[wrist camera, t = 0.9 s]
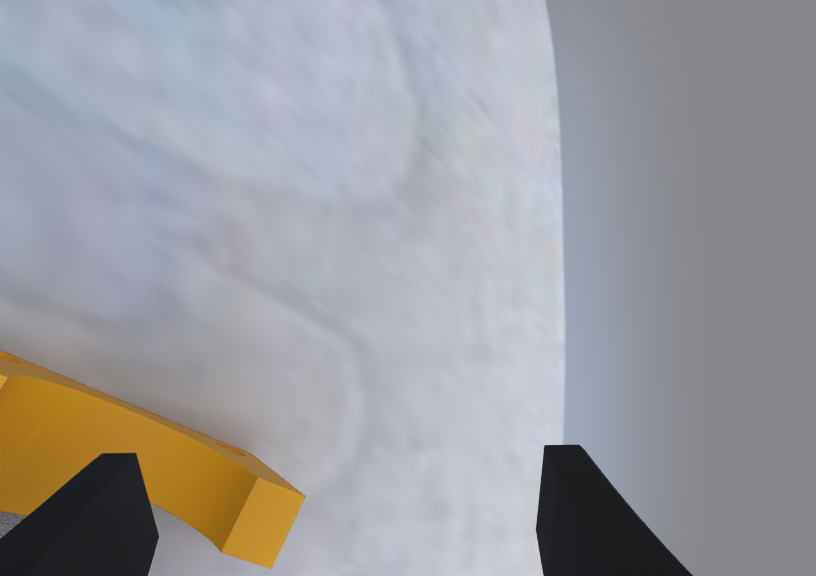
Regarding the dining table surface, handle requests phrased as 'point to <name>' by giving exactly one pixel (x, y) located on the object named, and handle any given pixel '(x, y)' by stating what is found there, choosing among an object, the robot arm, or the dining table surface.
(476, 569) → the dining table surface
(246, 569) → the dining table surface
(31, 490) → the pipe clamp
